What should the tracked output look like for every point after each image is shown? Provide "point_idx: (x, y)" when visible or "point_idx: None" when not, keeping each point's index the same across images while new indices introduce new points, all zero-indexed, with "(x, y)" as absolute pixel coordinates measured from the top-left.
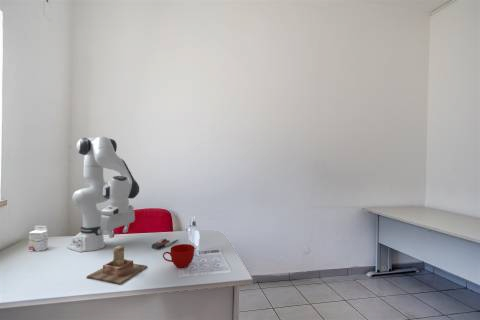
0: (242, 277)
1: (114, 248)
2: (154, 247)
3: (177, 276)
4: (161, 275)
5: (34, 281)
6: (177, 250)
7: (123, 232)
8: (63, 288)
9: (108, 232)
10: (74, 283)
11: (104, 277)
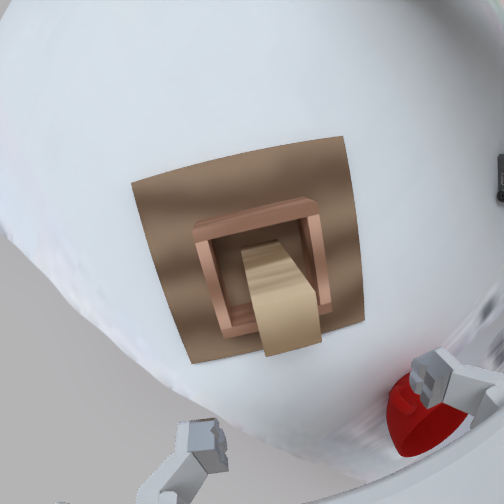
0: None
1: (255, 316)
2: (502, 173)
3: (339, 427)
4: (326, 399)
5: (28, 54)
6: None
7: (411, 363)
8: (44, 202)
9: (154, 481)
10: (81, 192)
11: (175, 271)
